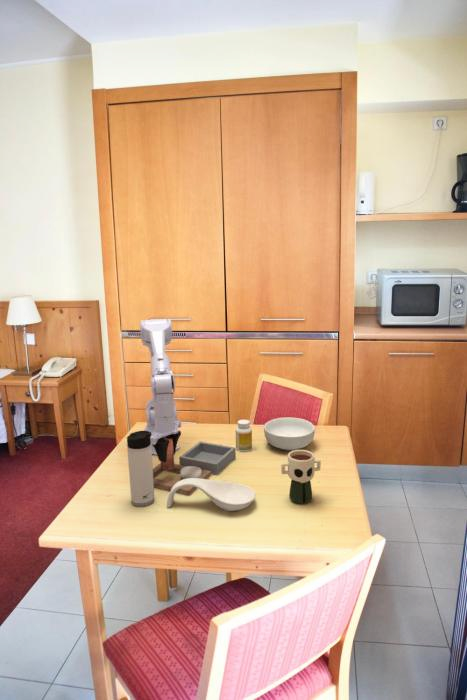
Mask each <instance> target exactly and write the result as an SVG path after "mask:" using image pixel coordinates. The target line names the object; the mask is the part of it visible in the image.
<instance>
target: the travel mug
mask: <svg viewBox="0 0 467 700" xmlns="http://www.w3.org/2000/svg"><path fill="white" fill-rule="evenodd" d="M151 435H152V434H151V432H149V431H144V430H139V431H138V430H137V431H134V432H131V433H129V435H128V436H127V437H126V443H127V444H126V447H127V461H128V473H129V474H128V475H129V485H130V486H129V489H130V499H131V504H132V505H133V506H135V507H142V508H143V507H147V506H148V507H149V506H150V505H152V504H153V503H154V501H155V488H154V483H153V468H154V467H153V456H152V455H153V454H152V451H151V441H150V440H151V439H150V437H151Z"/></svg>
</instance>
